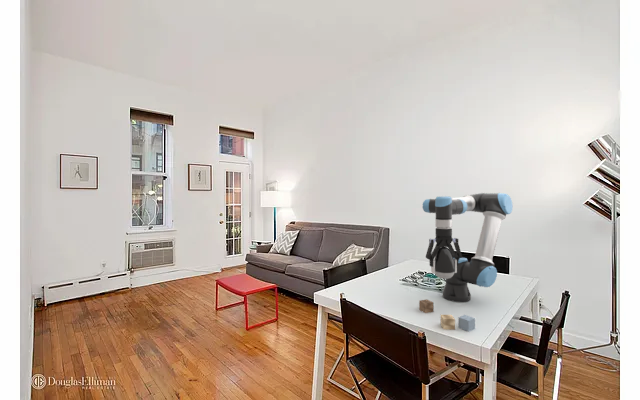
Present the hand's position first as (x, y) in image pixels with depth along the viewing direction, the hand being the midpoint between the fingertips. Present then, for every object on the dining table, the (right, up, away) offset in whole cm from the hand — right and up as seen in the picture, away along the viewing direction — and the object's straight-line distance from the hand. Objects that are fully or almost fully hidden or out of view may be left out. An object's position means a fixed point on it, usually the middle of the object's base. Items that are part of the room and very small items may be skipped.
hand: (443, 272), depth 156 cm
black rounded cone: (0, -2, 0) cm, 2 cm away
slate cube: (+6, -23, -11) cm, 26 cm away
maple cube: (-2, -23, -9) cm, 25 cm away
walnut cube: (-5, -23, +11) cm, 25 cm away
